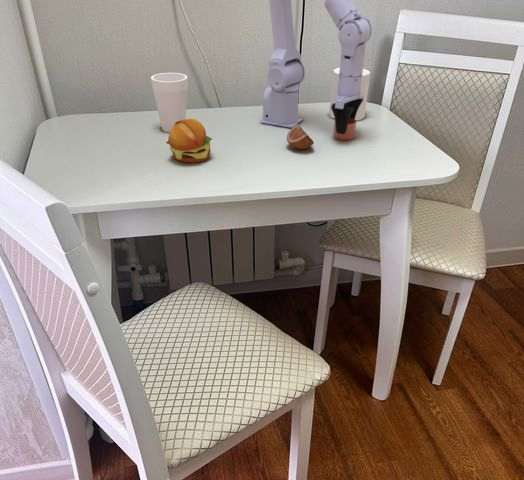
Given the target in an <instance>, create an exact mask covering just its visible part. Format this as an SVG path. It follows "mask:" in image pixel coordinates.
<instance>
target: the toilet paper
mask: <svg viewBox="0 0 524 480" xmlns="http://www.w3.org/2000/svg"><path fill="white" fill-rule="evenodd" d="M339 72H340V67H337V68H335V69H333V70H332V81H331V92H330V103H329V116H330V118H332V119H334V120H335V117H334V114H333V111H332V109H331V106H332V104H333V103H336V99H337V97H336V94H337V91H338V82H339ZM370 79H371V71H369V70H368V69H366V68H363V73H362V80H361V89H360V93H361V94H364V98H363V101H362V103H361V105H360V107H359V109H358V111H357V114H356V117H355V120H356V121H361V120H363V119H364V118H366V117H365V116H366V110H367V109H366V108H367V102H368V93H369V87H370Z"/></svg>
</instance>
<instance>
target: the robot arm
mask: <svg viewBox="0 0 524 480" xmlns="http://www.w3.org/2000/svg"><path fill="white" fill-rule="evenodd" d="M268 2H269V10H270V20H271V22H270V23H271V31H272V32H271V33H272V42H273V52H272V54H271V56H270V57H269V60H268V71H267V82H268V84H269V86H266V88H265V90H264V92H263V97H262V121H261V124H266V125H272V126H277V127H283V128H289V129H292V128H293V127H294V126H295V125H296V124H298V125H299V123H301V122H302V121H303V118H302V117H298V115H299V98H300V97H299V95H300V87H301V83H302V82H303V80H305V77H306V69H305V65H304V64H303V61H302V55H301V53H300V51H298V48H297V47H296V45H295V44H296V43H295V31H294V19H293V6H292V0H268ZM324 7H325V9H326V11H327V13H328V15H329V16H330V18H331V20H332V21H333V23H334V25H335V26H336V28H337V30H338V31H339V32H338V34H337V38H338V41H339V44H340V46H341V47H340V48H341V49H340V54H341V55H340V61H339V68H340V72H339V82H338V91H337V94H336V97H337V99H336V103H333V104H332V106H331V109H332V111H333V114H334V117H335V119H334V123H335V122H336V131H337V133H339V134H345V132H346V129H347V125H348V121H349V118H353V119H355V117H356V114H357V111H358V109H359V107H360V105H361V103H362V101H363V98H364V94H361V93H360V89H361V80H362V73H363V69H364V63H365V56H366V48H367V46H366V45H367V42H369V40H371V37H372V32H373V30H372V29H373V28H372V24H371V22H370V20H369V18H368V17H366V16H362V13H361V11H360V10H358V9H357V7H356V5H355V4H354V2H353V0H324Z"/></svg>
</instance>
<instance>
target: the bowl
mask: <svg viewBox="0 0 524 480" xmlns="http://www.w3.org/2000/svg"><path fill="white" fill-rule="evenodd" d="M356 128H357V120H355V119H353V118H349V121H348V125H347V129H346V132H345V134H339V133H337V131H336V122H335V121H334V126H333V137H334V138H335V139H336V140H339V141H351V140H353V138H355V137H356V130H357V129H356Z"/></svg>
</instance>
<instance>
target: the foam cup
mask: <svg viewBox="0 0 524 480" xmlns="http://www.w3.org/2000/svg"><path fill="white" fill-rule="evenodd" d="M150 83H151V89H152V91H153V95H154V99H155V104H156V108H157V113H158V117H159V121H160V126H161V130H162V131H163V132H166V133H170V132H171V130H172V128H173V126H174V124H175V123H176V122H177V121H180V120H184V119H187V102H188V99H187V97H188V88H189V80H188V75H186V74H184V73H179V72H161V73H156V74H153V75H151V77H150Z"/></svg>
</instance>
